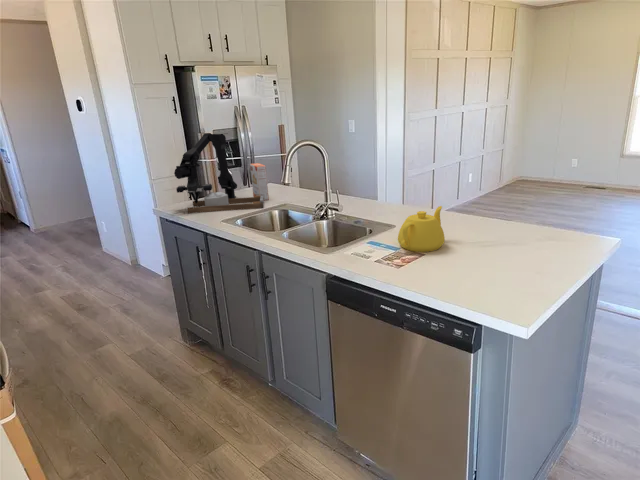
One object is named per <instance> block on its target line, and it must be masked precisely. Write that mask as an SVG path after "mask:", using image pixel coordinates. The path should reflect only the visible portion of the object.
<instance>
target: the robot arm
mask: <svg viewBox="0 0 640 480" xmlns="http://www.w3.org/2000/svg"><path fill="white" fill-rule="evenodd" d="M210 142H211V145H212V147H213V148H214V149H215V151H216V157H217V162H218V167H219V172H220V173H219V176H217V180H218V184H219V186H220V188H221V189H222V190H224V193H225V194H227V195H228V199H234V198H237V196H236V195H235V193H236V192H235V190H236V189H237V188H238V184H237V183H236V182H235V181H234V178H233V176H232V175H231V173H230V171H229V166H228V160H227V156H226V151H225V148H226V145H227V138H226V135H225V134H224V133H212V132H211V133H209V132H205V133H204V134H202V137H200V138H199V140H198V141H197V142H196V144H194V145H193V147H191V149H188V150H187V151H186V152H184V153H183V155H182V158H181V162H180V163H179V165H176V168H175V169H174V173H173V174H174V176H175V178H176V179H178V180H180V179H184V178H187V184H186V185H178V186H177V187H176V193H184V191H187V194H189V195H191V197H192V199H193V201H195V203H198V201H199V196H200V194H201V193H202V192H203V190H204V191H212V189H213V184H212V183H205V184H204V185H201V182H200V178H199V173H198V167H200V164H199V163H198V162H199V159H200V155H201V153H202V152H203V150H205V148H206V147H207V146H208V145H209V143H210Z"/></svg>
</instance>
